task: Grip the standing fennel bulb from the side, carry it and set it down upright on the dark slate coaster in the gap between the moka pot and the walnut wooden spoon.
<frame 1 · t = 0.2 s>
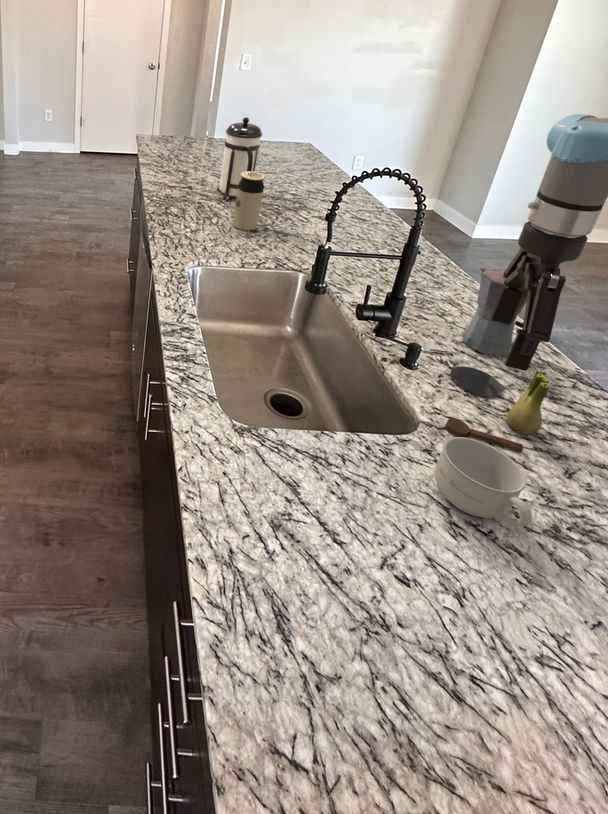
hand: (507, 343, 89), 20 cm above the countertop, tool pointing down, fingers open, 13 cm apart
travel mug: (244, 226, 179), on the countertop
coffee press: (236, 197, 204), on the countertop
teacup: (472, 507, 84), on the countertop
fennel bulb: (519, 429, 100), on the countertop
wooden spoon: (487, 440, 97), on the countertop
slate coaster: (475, 382, 111), on the countertop
moka pot: (486, 347, 122), on the countertop
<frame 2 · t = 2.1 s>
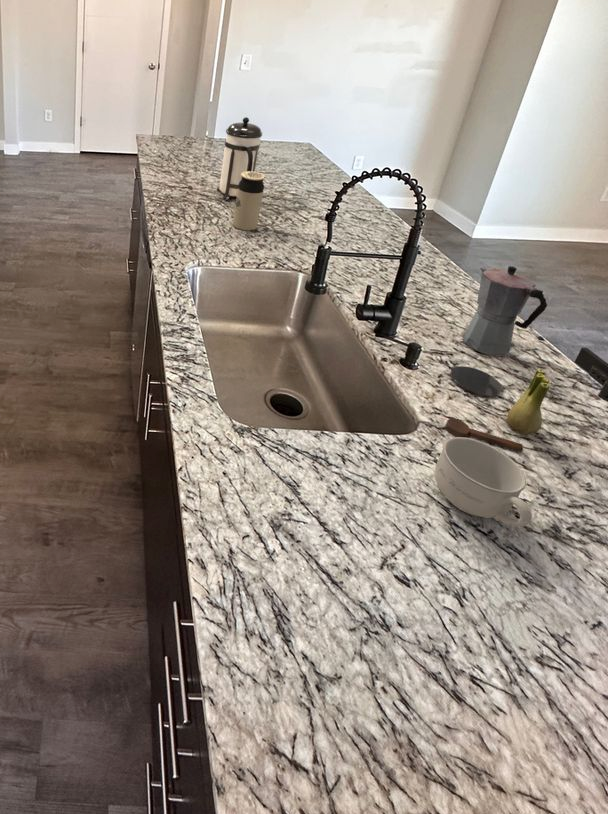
nothing on the countertop moved.
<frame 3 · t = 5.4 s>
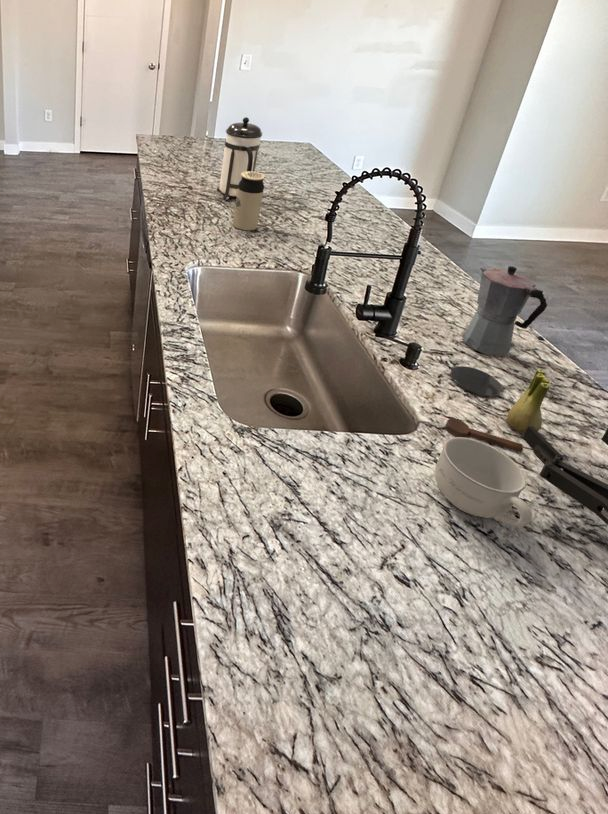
hand: (566, 432, 90), 7 cm above the countertop, tool horizontal, fingers open, 13 cm apart
nothing on the countertop moved.
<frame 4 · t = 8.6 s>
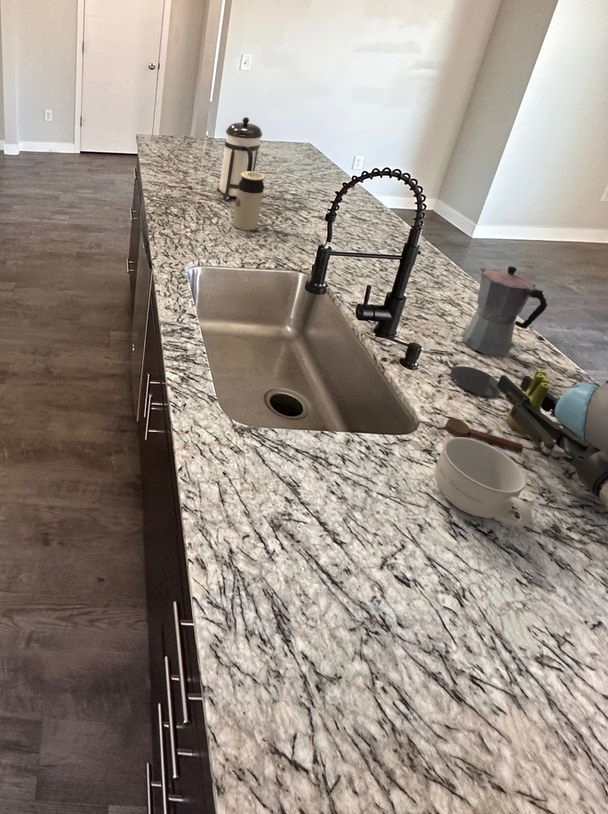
hand: (512, 381, 102), 7 cm above the countertop, tool horizontal, fingers closed on fennel bulb, 4 cm apart
fennel bulb: (520, 429, 100), on the countertop, touching gripper
everything else where it was.
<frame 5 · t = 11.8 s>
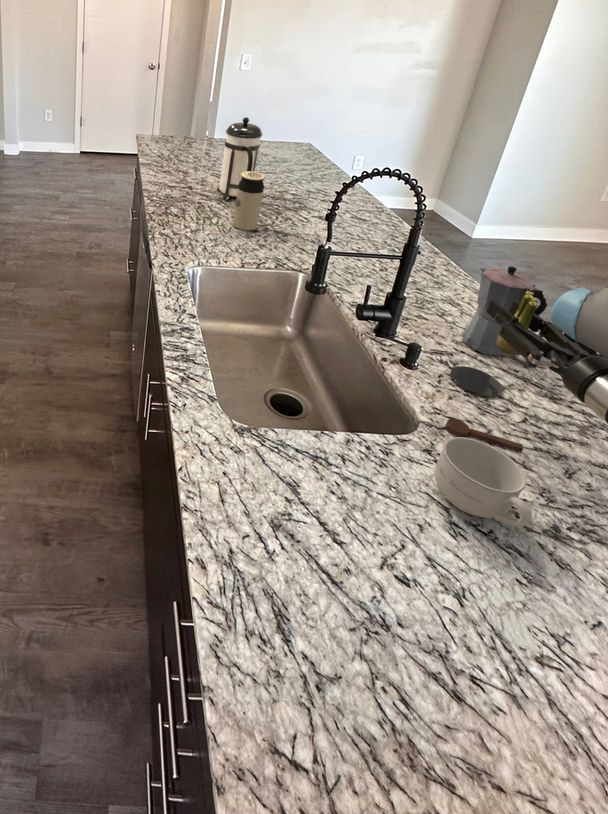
hand: (501, 306, 104), 18 cm above the countertop, tool horizontal, fingers closed on fennel bulb, 4 cm apart
fennel bulb: (509, 351, 102), point 11 cm above the countertop, touching gripper
everything else where it was.
when the fingers open (7 cm above the countertop, at t = 15.5 s): fennel bulb stays where it is, resting on slate coaster.
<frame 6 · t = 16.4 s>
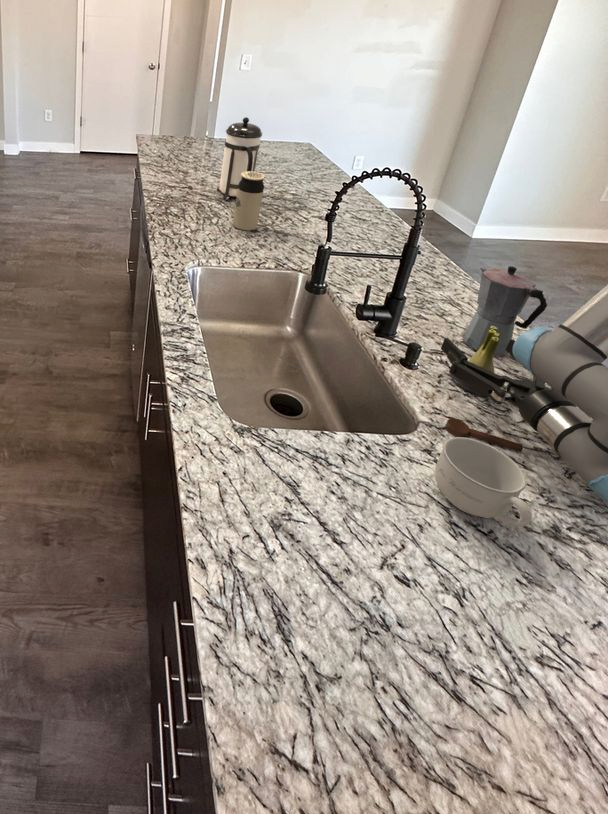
hand: (476, 343, 111), 7 cm above the countertop, tool horizontal, fingers open, 13 cm apart
fennel bulb: (475, 381, 111), resting on slate coaster
everything else where it was.
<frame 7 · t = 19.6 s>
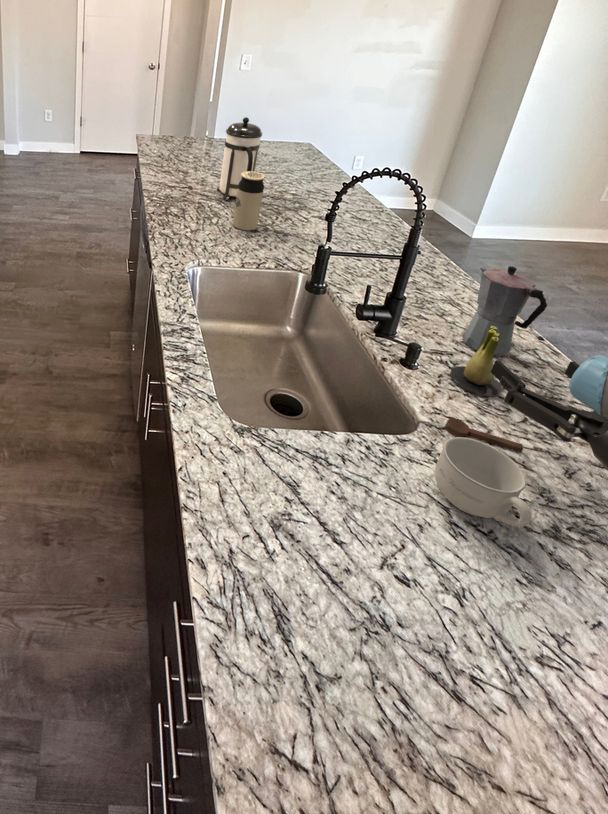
hand: (532, 366, 97), 12 cm above the countertop, tool horizontal, fingers open, 13 cm apart
nothing on the countertop moved.
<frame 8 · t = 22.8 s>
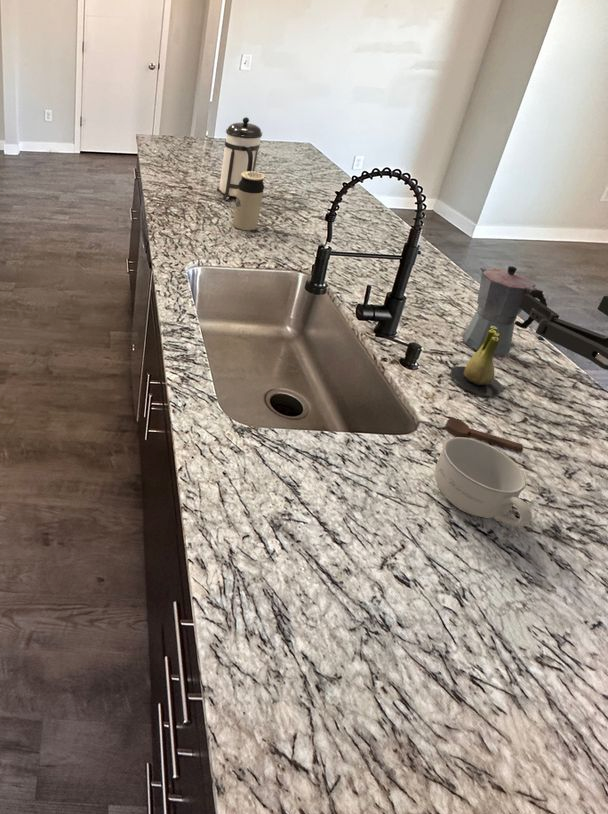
hand: (563, 301, 91), 26 cm above the countertop, tool horizontal, fingers open, 13 cm apart
nothing on the countertop moved.
at the end: fennel bulb inside the target area (0.0 cm from its centre), resting on slate coaster; fennel bulb tilted 0°; the gripper is holding nothing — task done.
